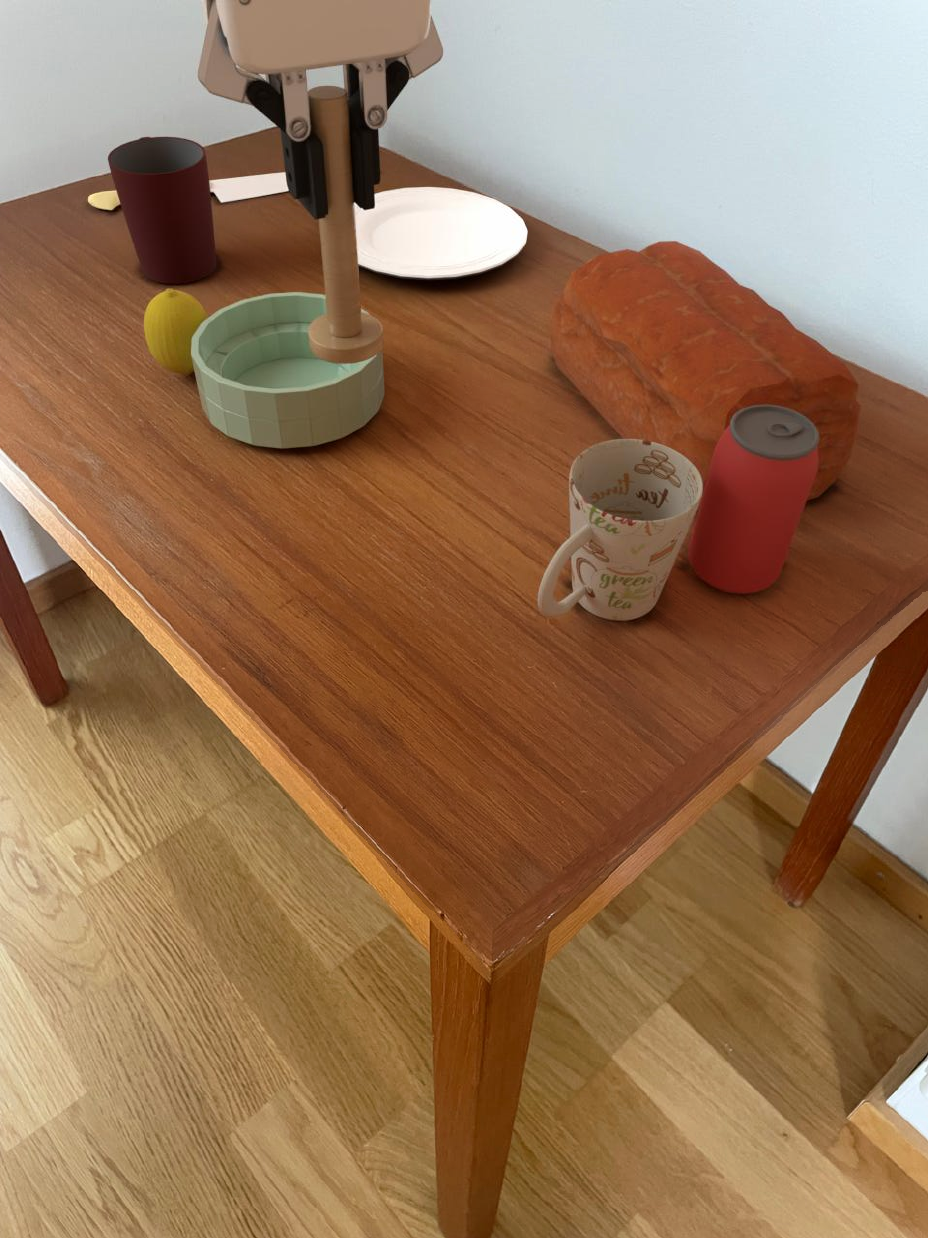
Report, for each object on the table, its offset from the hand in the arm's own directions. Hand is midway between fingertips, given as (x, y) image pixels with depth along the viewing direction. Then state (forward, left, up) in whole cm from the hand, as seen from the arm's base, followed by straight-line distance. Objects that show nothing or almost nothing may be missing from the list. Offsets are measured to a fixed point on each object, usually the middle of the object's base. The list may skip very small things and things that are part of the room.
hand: (335, 201), depth 52 cm
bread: (+31, +3, -25) cm, 40 cm away
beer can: (+23, -14, -25) cm, 37 cm away
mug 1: (0, +48, -25) cm, 55 cm away
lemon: (-5, +27, -25) cm, 38 cm away
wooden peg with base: (0, 0, -9) cm, 9 cm away
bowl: (+2, +19, -25) cm, 32 cm away
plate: (+25, +40, -25) cm, 54 cm away
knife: (+11, +62, -25) cm, 67 cm away
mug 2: (+12, -13, -25) cm, 31 cm away
